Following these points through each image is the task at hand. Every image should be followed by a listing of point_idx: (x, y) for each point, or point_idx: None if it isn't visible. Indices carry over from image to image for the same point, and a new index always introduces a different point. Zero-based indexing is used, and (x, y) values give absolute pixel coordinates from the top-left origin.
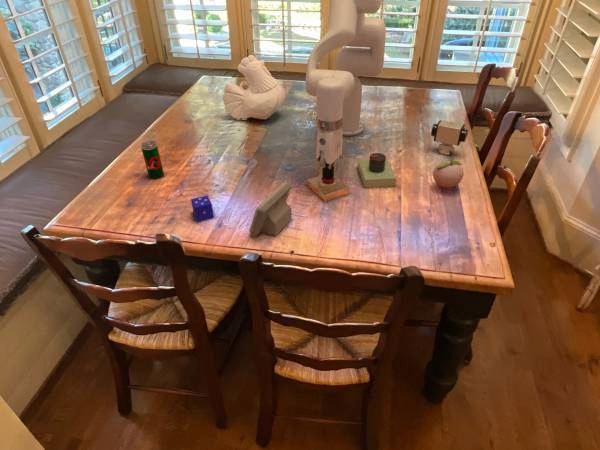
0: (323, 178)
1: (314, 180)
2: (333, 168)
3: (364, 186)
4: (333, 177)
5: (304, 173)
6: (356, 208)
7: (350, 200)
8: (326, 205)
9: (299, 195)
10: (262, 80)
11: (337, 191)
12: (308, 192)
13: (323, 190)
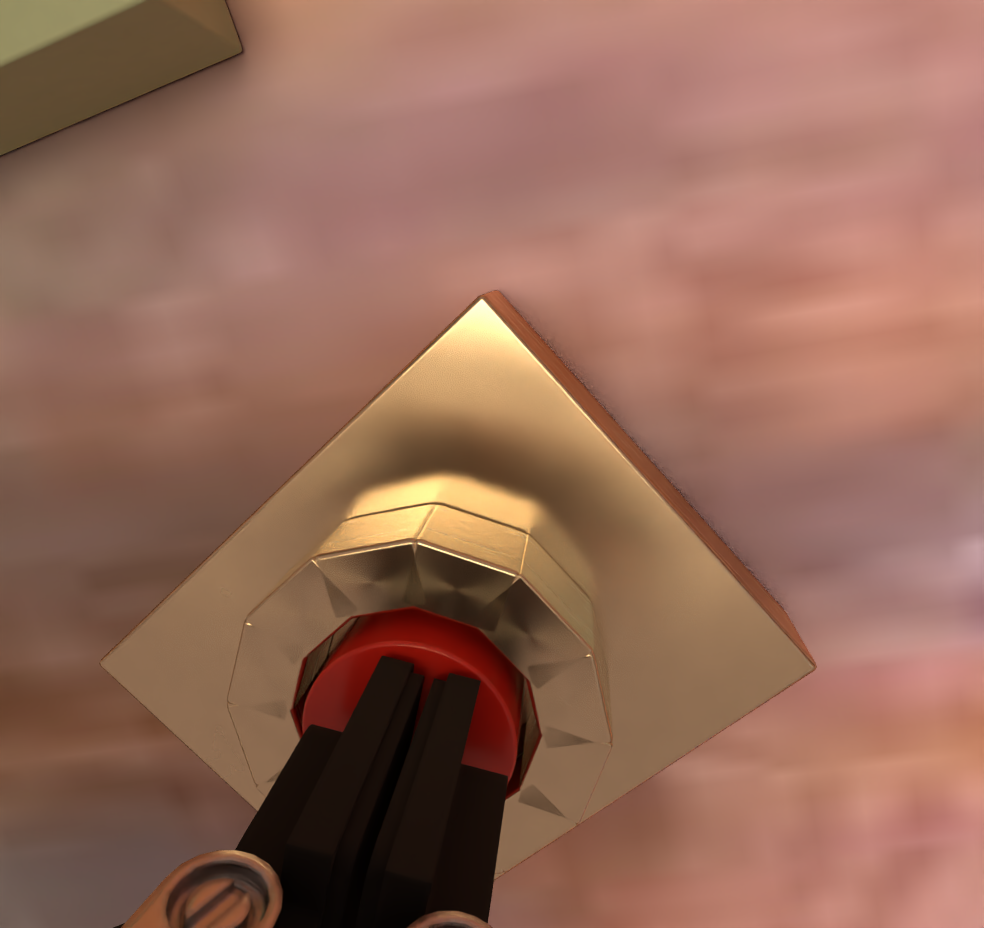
0: None
1: None
2: (338, 815)
3: (233, 45)
4: (382, 649)
5: None
6: (940, 73)
7: (693, 227)
8: (890, 570)
9: (679, 920)
10: None
11: (652, 484)
12: (585, 832)
13: (661, 705)
